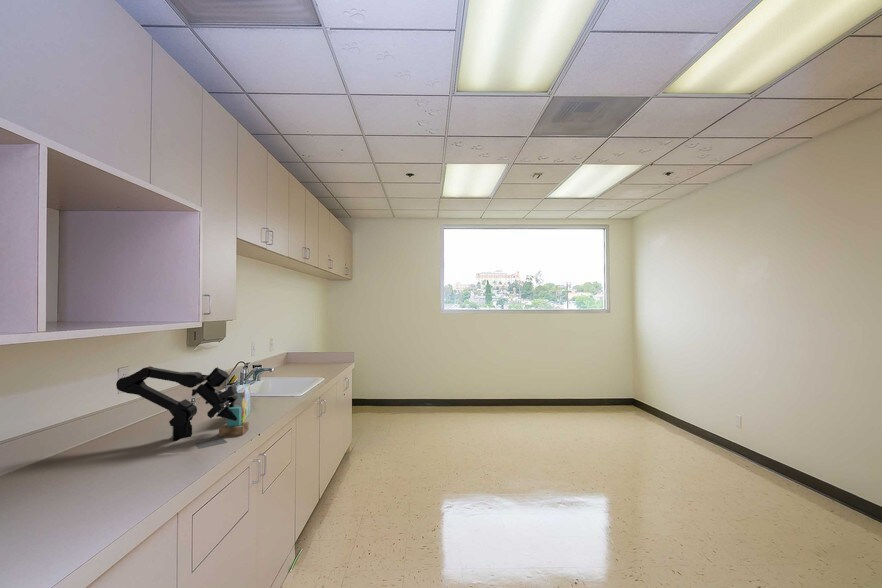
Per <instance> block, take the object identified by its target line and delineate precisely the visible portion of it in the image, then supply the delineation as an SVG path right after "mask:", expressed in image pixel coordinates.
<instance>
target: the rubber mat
mask: <svg viewBox="0 0 882 588" xmlns="http://www.w3.org/2000/svg"><path fill="white" fill-rule="evenodd" d="M227 443H228V442H227V440H226V439H225V438H224V436H221V437H219V436H218V437H214V438H209V439H203V440H199V441H195V442H194V444H195V445H196V447H197V448H198V449H205V448H209V447H214V446H219V445H223V444H227Z"/></svg>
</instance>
